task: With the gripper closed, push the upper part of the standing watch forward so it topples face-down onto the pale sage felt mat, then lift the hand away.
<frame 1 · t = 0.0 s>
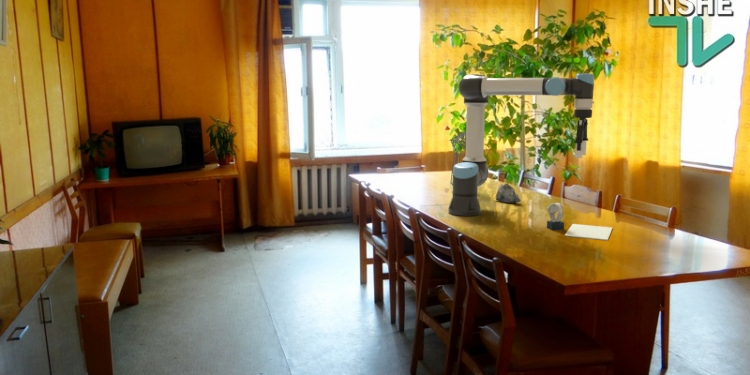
hand: (580, 156, 260), 28 cm above the table, fingers open, 13 cm apart
felt mat: (589, 232, 237), on the table
watch: (555, 229, 243), on the table
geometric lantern: (464, 192, 331), on the table
mineral rock: (507, 203, 301), on the table
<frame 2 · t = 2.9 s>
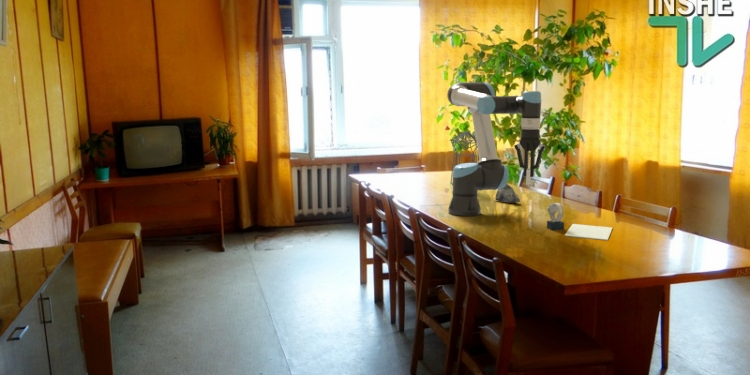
hand: (528, 184, 245), 18 cm above the table, fingers closed
nothing on the table moved.
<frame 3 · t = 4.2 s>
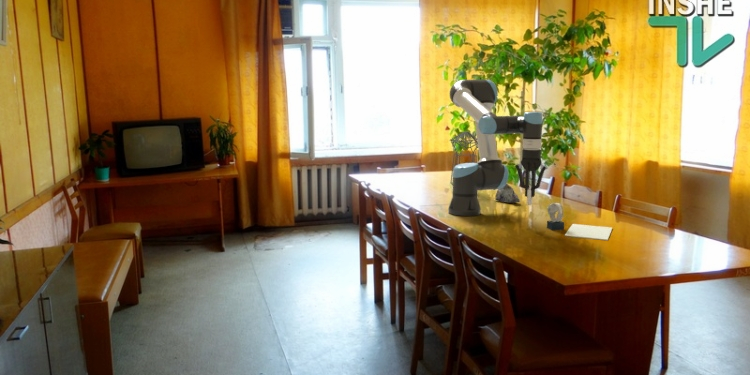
hand: (529, 204, 246), 10 cm above the table, fingers closed
nothing on the table moved.
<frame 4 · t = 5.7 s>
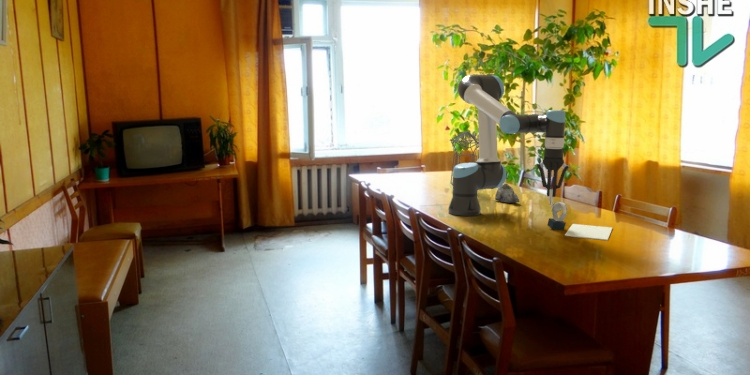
hand: (550, 204, 242), 10 cm above the table, fingers closed
watch: (555, 227, 243), on the table, touching gripper
everything else where it was.
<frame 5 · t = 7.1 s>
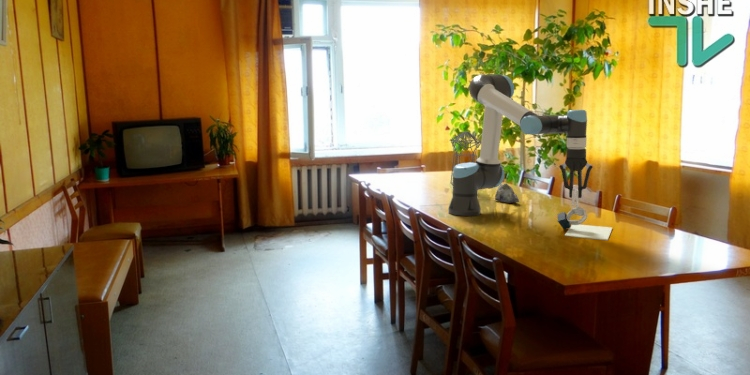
hand: (575, 205, 238), 11 cm above the table, fingers closed
watch: (560, 221, 242), point 3 cm above the table, touching gripper
everything else where it was.
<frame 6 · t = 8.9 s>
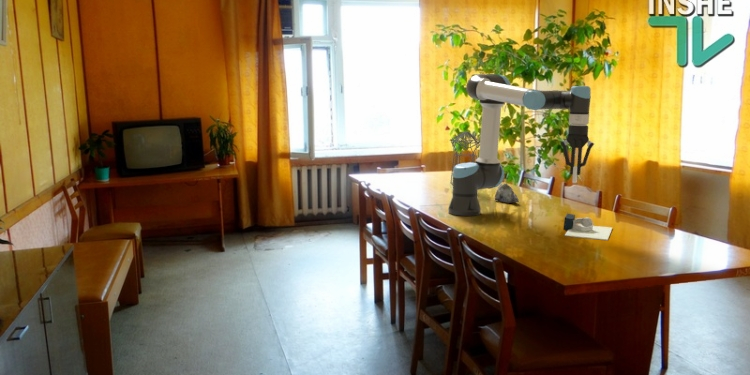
hand: (574, 182, 237), 20 cm above the table, fingers closed
watch: (565, 221, 243), point 3 cm above the table, touching felt mat
everything else where it was.
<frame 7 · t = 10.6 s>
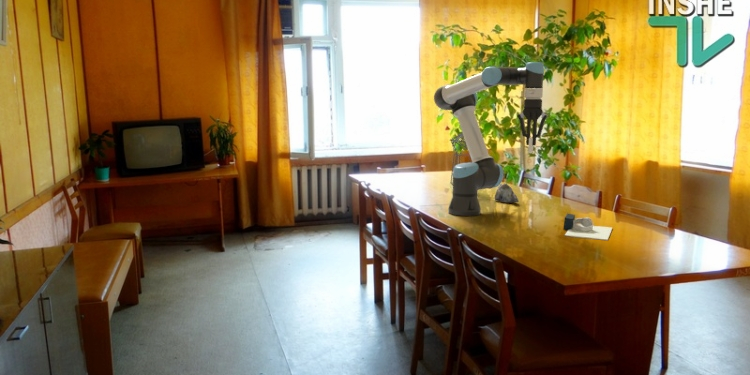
hand: (530, 152, 255), 30 cm above the table, fingers closed
nothing on the table moved.
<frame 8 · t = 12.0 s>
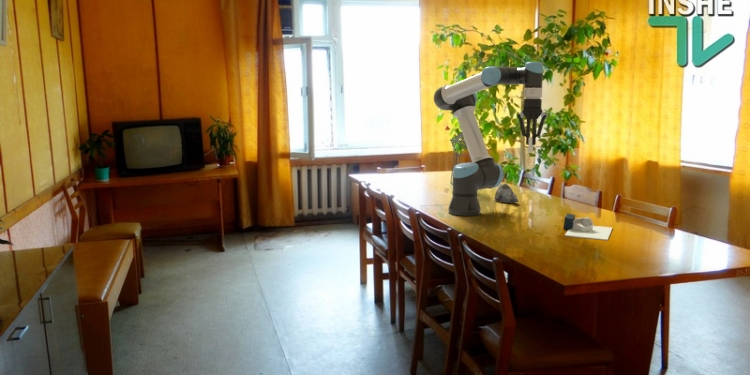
hand: (530, 152, 255), 30 cm above the table, fingers closed
nothing on the table moved.
at the end: watch tilted 96°; watch touching felt mat, table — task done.
